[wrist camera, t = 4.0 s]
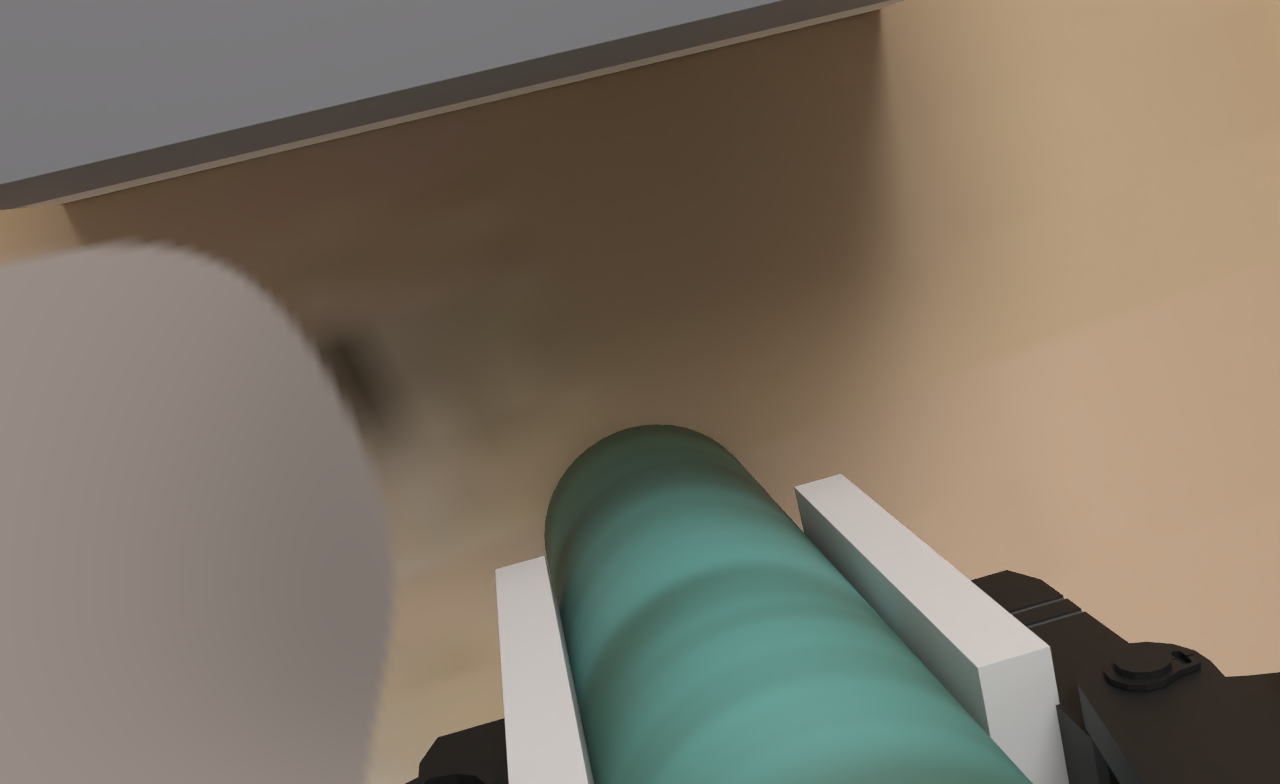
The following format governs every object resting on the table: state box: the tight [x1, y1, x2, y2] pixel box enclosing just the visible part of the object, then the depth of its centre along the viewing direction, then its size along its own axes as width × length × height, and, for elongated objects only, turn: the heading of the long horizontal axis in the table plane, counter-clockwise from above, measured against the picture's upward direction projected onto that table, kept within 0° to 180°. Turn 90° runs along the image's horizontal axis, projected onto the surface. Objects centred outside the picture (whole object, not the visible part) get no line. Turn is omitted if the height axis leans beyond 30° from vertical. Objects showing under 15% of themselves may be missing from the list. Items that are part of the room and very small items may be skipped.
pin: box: [545, 425, 1033, 784], centre depth 14 cm, size 4×4×15 cm
